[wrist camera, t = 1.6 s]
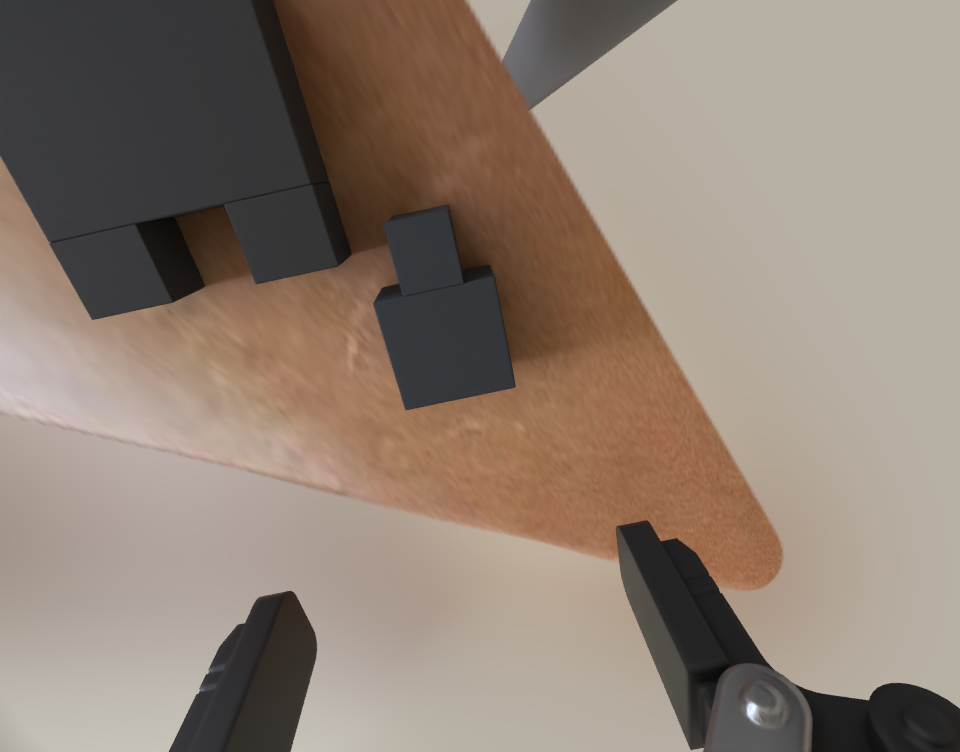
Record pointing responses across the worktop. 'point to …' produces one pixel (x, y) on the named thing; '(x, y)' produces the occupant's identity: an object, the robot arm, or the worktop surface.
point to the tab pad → (440, 315)
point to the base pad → (160, 142)
